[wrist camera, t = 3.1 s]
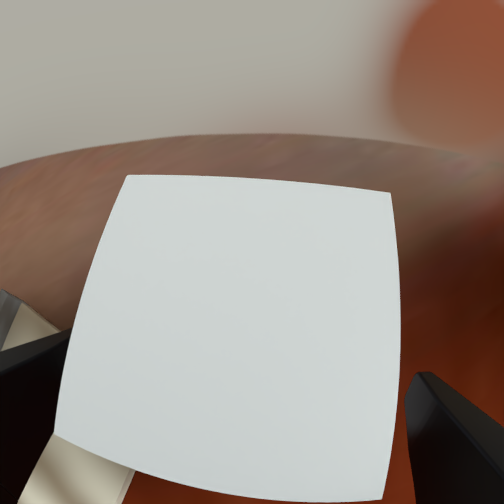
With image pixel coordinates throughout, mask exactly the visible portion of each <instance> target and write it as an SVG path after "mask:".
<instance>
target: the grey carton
mask: <svg viewBox="0 0 504 504" xmlns="http://www.w3.org/2000/svg"><path fill="white" fill-rule="evenodd" d="M399 368H400V285H399V267H398V254H397V243H396V233H395V224H394V215H393V208H392V200H391V194H390V193H387V192H380V191H373V190H365V189H358V188H350V187H341V186H332V185H323V184H314V183H303V182H292V181H280V180H267V179H253V178H236V177H215V176H186V175H127V177H126V179H125V182H124V184H123V186H122V188H121V190H120V193H119V195H118V197H117V200H116V202H115V204H114V207H113V209H112V212H111V214H110V216H109V219H108V221H107V224H106V227H105V229H104V232H103V234H102V237H101V240H100V242H99V245H98V248H97V251H96V253H95V256H94V259H93V262H92V265H91V268H90V271H89V274H88V277H87V280H86V283H85V287H84V290H83V293H82V297H81V300H80V303H79V307H78V311H77V314H76V318H75V322H74V326H73V329H72V333H71V338H70V342H69V346H68V351H67V355H66V360H65V365H64V370H63V375H62V380H61V386H60V392H59V398H58V404H57V411H56V419H55V427H54V434H55V435H57V436H59V437H61V438H62V439H64V440H66V441H68V442H70V443H72V444H74V445H76V446H79V447H81V448H83V449H85V450H87V451H89V452H92V453H94V454H96V455H98V456H101V457H103V458H106V459H108V460H110V461H113V462H115V463H118V464H121V465H123V466H126V467H129V468H132V469H134V470H137V471H140V472H143V473H146V474H149V475H152V476H156V477H159V478H162V479H166V480H169V481H173V482H176V483H180V484H184V485H188V486H192V487H196V488H201V489H205V490H210V491H215V492H221V493H226V494H232V495H238V496H245V497H252V498H260V499H270V500H281V501H297V502H353V501H368V500H379V499H382V496H383V491H384V487H385V482H386V477H387V472H388V466H389V461H390V455H391V448H392V442H393V434H394V427H395V418H396V409H397V398H398V385H399Z"/></svg>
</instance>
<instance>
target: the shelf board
mask: <svg viewBox="0 0 504 504" xmlns="http://www.w3.org/2000/svg"><path fill="white" fill-rule="evenodd" d="M58 332H61V331H60V330H59V329H58V328H56V327H55V326H54V325H52V324H51V323H50V322H49V321H47V320H46V319H45V318H43V317H42V316H41V315H40V314H38V313H37V312H36V311H35V310H34V309H32V308H31V307H30V306H29V305H28V304H26V303H25V302H24V301H22V300H21V299H19V298H17V297H15V296H14V295H12V294H10V293H9V292H7V291H5V290H4V289H1V291H0V351H3V350H6V349H10V348H13V347H16V346H19V345H22V344H25V343H28V342H31V341H34V340H37V339H40V338H43V337H46V336H49V335H52V334H55V333H58ZM135 471H136V470H134V469H132V468H129V467H126V466H123V465H121V464H118V463H115V462H113V461H110V460H108V459H106V458H103V457H101V456H98V455H96V454H94V453H92V452H89V451H87V450H85V449H83V448H81V447H79V446H76V445H74V444H72V443H70V442H68V441H66V440H64V439H62V438H61V437H59V436H57V435H55V434H54V433H53V435H52V436H51V438H50V440H49V442H48V444H47V445H46V447H45V449H44V451H43V453H42V455H41V457H40V459H39V460H38V462H37V464H36V466H35V468H34V470H33V472H32V474H31V476H30V478H29V480H28V482H27V484H26V486H25V488H24V490H23V492H22V494H21V497H20V499H19V500H18V503H17V504H121V503H122V501H123V499H124V496H125V494H126V492H127V489H128V487H129V485H130V482H131V480H132V478H133V475H134V473H135Z"/></svg>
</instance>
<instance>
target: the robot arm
mask: <svg viewBox="0 0 504 504" xmlns="http://www.w3.org/2000/svg"><path fill="white" fill-rule="evenodd" d="M72 329H73V328H70V329H67V330H64V331H61V332H58V333H55V334H52V335H49V336H46V337H43V338H40V339H37V340H34V341H31V342H28V343H25V344H22V345H19V346H16V347H13V348H10V349H6V350H3V351H0V504H17V503H18V500H19V499H20V497H21V494H22V492H23V490H24V488H25V486H26V484H27V482H28V480H29V478H30V476H31V474H32V472H33V470H34V468H35V466H36V464H37V462H38V460H39V459H40V457H41V455H42V453H43V451H44V449H45V447H46V445H47V444H48V442H49V440H50V438H51V436H52V435H53V433H54V427H55V419H56V411H57V404H58V398H59V392H60V386H61V380H62V375H63V370H64V365H65V360H66V355H67V351H68V346H69V342H70V338H71V333H72ZM404 403H405V414H406V425H407V438H408V450H409V457H410V463H411V469H412V476H413V482H414V490H415V497H416V504H504V427H502V426H501V425H500V424H498V423H497V422H496V421H495V420H493V419H492V418H491V417H489V416H488V415H487V414H485V413H484V412H483V411H482V410H480V409H479V408H478V407H476V406H475V405H474V404H472V403H471V402H470V401H469V400H467V399H466V398H465V397H463V396H462V395H461V394H459V393H458V392H457V391H455V390H454V389H453V388H452V387H450V386H449V385H448V384H446V383H445V382H444V381H442V380H441V379H440V378H438V377H437V376H436V375H434V374H433V373H432V372H418V373H416V374H415V375H414V377H413V380H412V382H411V384H410V386H409V388H408V391H407V393H406V395H405V401H404Z"/></svg>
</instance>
